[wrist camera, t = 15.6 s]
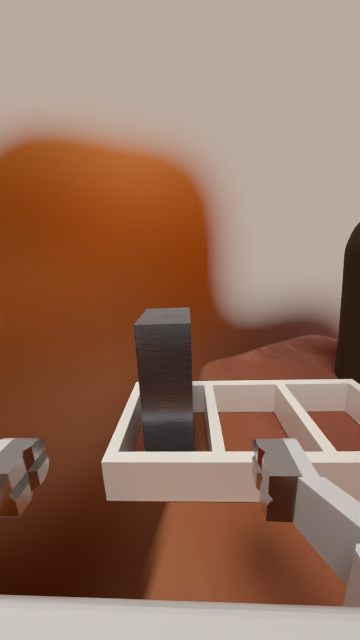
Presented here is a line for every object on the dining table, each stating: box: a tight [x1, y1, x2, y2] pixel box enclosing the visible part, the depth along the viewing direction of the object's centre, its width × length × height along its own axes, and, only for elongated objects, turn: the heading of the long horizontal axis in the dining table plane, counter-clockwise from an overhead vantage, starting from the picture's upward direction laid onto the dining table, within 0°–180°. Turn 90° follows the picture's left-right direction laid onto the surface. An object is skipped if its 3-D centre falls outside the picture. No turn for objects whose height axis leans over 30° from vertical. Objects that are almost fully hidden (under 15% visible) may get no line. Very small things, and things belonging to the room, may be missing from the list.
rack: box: [101, 379, 360, 502], centre depth 19 cm, size 21×10×3 cm, turn 88°
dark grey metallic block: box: [134, 308, 194, 452], centre depth 18 cm, size 4×5×11 cm
